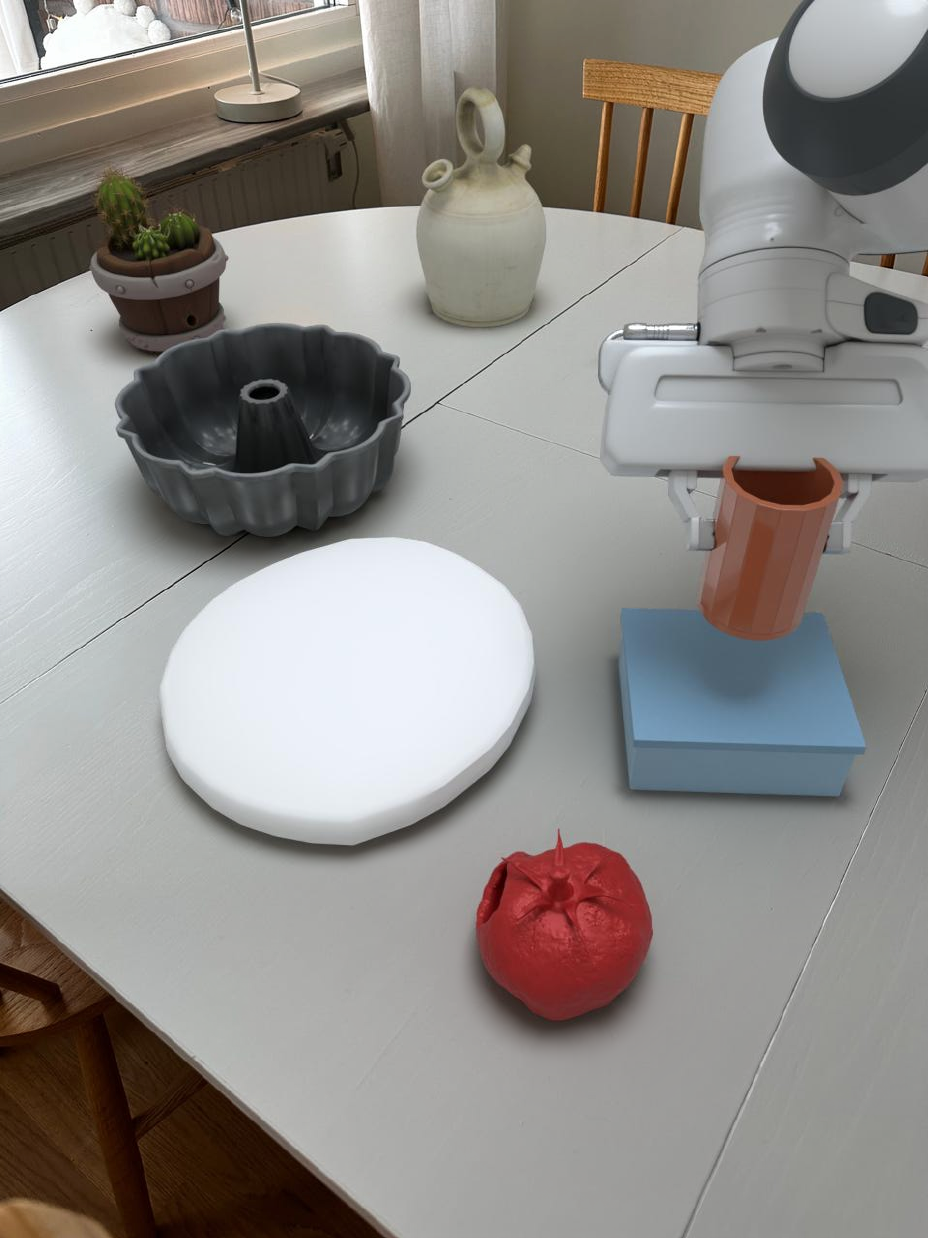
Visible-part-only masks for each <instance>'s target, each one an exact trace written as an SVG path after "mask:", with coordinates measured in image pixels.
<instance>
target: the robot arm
mask: <svg viewBox="0 0 928 1238" xmlns="http://www.w3.org/2000/svg"><path fill="white" fill-rule="evenodd" d="M709 105H710V106H709V109H708V111H707V116H706V121H705V126H704V133H703V141H702V149H701V151H702V152H701V162H700V174H699V175H700V176H699V177H700V178H699V201H698V202H699V204H698V208H699V210H698V211H699V213H698V215H699V220H700V223H701V228H702V231H703V234H704V251H703V256H702V259H701V262H700V265H699V269H698V275H697V296H696V297H697V299H696V300H697V301H696V302H697V303H696V323H693V322H686V323H684V322H683V323H681V322H680V323H679V322H672V323H671V322H670V323H663V324H662V323H661V324H647V323H645V322H631V323H625V324H624V325H623V328H622V329H617V330H615V331H613V332H611V333H610V334H609V335H607V336H606V337H605V339H603V341H602V342H601V344H600V347H599V350H598V359H597V361H598V362H597V378H598V382H599V385H600V387H601V389H602V390H603V392H605V393H606V394H607V399H606V404H605V409H604V415H603V420H602V421H603V422H602V429H601V435H600V436H601V437H600V448H599V460H600V463H601V465H602V466H603V467H604V469H605V470H606V471H607V472H608V474H609V475H611V476H612V477H629V478H667V497H668V498H669V499H670V502H671V503H672V505H673V507H674V508H675V510H676V512H677V514H678V515H679V517H680V519H681V521H682V522H683V523H685V525H684V526H685V527H684V528H685V529H684V530H685V531H684V535H685V536H684V548H685V551H686V552H706V551H711V550H713V549H714V545H715V537H714V536H713V533H714V531H715V519H711V518H703V517H702V516H701V514H700V511H699V510H698V508H697V506H696V505H695V502H694V501H693V499H692V497H691V495H690V494H691V493H693V492H694V491H695V490H696V489H697V487H698V479H721V474H722V469H723V466H724V464H725V462H726V460H727V458H728V457H729V456H740V459H739V460H738V462H737V463H736V465H735V470H737V471H769V472H813V471H815V470H816V465H815V463H814V461H813V458H824V459H826V460H827V461H828V462H829V463H830V464H831V465H833V466H834V467H835V468H836V469H837V470H838V471H839V474H840V476H841V479H842V481H843V488H842V491H841V495H840V498H839V499H841V500H842V499H843V500H844V499H845V500H844V502H843V503H842V504H841V505H842V506H841V507H840V508H839V510H838V512H837V514H836V516H834V518H833V521H832V524H831V527H830V530H829V534H828V537H827V540H826V543H825V547H824V550H823V553H822V555H835V556H836V555H837V556H838V555H841V556H842V555H846V554H849V553H850V551H851V549H852V534H853V533H852V532H853V531H852V530H853V529H852V528H853V526H852V525H853V523H854V522H855V521H856V519H857V518H858V517H859V515H860V513H861V511H862V510H863V508H864V507H865V505H866V503H867V502H868V500H869V499H870V498H871V496H872V495H873V494H872V493H873V483H874V482H875V483H881V482H882V483H917V482H921V481H923V480H926V479H928V349H927V348H926V347H924V345H925V344H927V342H928V303H926V302H924V301H921V300H918V299H915V298H912V297H909V296H906V295H903V294H899V293H896V292H894V291H890V290H887V289H884V288H883V287H879V286H876V285H874V284H871V283H868V282H867V281H863V280H861V279H858V278H857V277H854V276H852V275H850V273H851V272H850V271H851V261H852V259H853V258H854V257H855V256H857V255H859V256H895V255H896V256H897V255H907V254H918V253H927V252H928V0H802V1H801V2H800V4H799V5H798V6H797V7H796V9H794V11H793V12H792V14H791V16H790V17H789V19H788V21H787V22H786V24H785V26H784V27H783V29H782V31H781V33H780V34H779V36H778V37H775V38H772V39H770V40H769V39H768V40H767V41H765V42H762V43H760V44H758V45H756V46H754V47H753V48H751V49H749V50H748V51H747V52H745V53H743V54H742V55H741V56H740V57H739V58H737V59H736V60H735V61H733V63H732V64H731V65H730V66H729V67H728V68H727V69H726V71H725V72H724V74H723V75H722V77H721V79H720V81H719V82H718V84H717V86H716V89H715V92H714V94H713V96H712V99H711V102H710V104H709ZM621 337H622V339H618V338H621Z"/></svg>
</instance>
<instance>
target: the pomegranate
mask: <svg viewBox="0 0 928 1238" xmlns="http://www.w3.org/2000/svg"><path fill="white" fill-rule="evenodd" d="M560 832H561V831H560V828H558V829H557V841H556V845H555V847H554V848H551V849H547V850H545V851H543V852H541V853H538V854H535V855H532V854H529V853H527V852H525V851H521V850H519V851H515V852H513V853H511V854H510V855H509V856H507V857H502V856H500V859H501V860H502V861H501V862H499V864H498V865H497V866H496V867H494V869H493V870H492V872H491V873H490V877H489V879H488V881H487V883H486V885H485V886H484V889H483V893H482V897H481V900H480V901H479V904H478V906H477V908H476V909H477V910H476V921H475V934H476V940H477V943H478V944H477V945H478V950H479V954H480V957H481V959H482V962H483V964H484V965H483V966H484V967H485V969H486V971H487V972H488V974H489V975H490V976H491V977H492V978H493V980H494V981H495V983H497V985H498V986H500V987H502V988H504V989H505V990H506V991H507V992H508V993H510V994H511V995H512V996H513V997H515V998H516V999H518V1000H520V1001H522V1002H523V1004H524V1005H525V1006H526V1007H527V1008H528V1009H529V1010H530V1012H532V1013H533V1014H534V1015H538V1016H541V1017H543V1018H545V1019H546V1020H548V1021H565V1020H569V1019H572V1018H575V1017H578V1016H582V1015H583V1014H586V1013H589V1012H591V1011H593V1010H599V1009H601V1008H602V1007H605V1006H607V1005H609V1004H610V1003H611V1002H612V1001H614V999H615V998H616V997H617V996H618V995H619V994H621V993H622V992H623V991H625V990H626V989H627V988H628V987H629V986H630V985H631V983H632V982H633V980H634V979H635V977H637V975H638V973H639V972H640V969H641V967H642V966H643V963H644V962H645V959H646V957H647V954H648V952H649V949H650V946H651V943H652V940H653V935H654V929H653V915H652V913H651V908H650V905H649V903H648V901H647V900H648V899H647V896H646V893H645V890H644V888H643V885H642V882H641V881H640V878H639V877H638V875H637V874H636V873H635V871H634V870H633V869H632V868H631V866H630V864H629V862H628V861H627V858H625V856H623V855H622V854H621V853H620V852H617V851H616V850H612V849H610V848H608V847H607V846H603V845H602V844H599V843H596V842H586V841H584V842H577V843H574V844H572V845H569V846H567V847H564V845H563V840H562V838H561V833H560Z"/></svg>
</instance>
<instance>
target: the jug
mask: <svg viewBox="0 0 928 1238" xmlns="http://www.w3.org/2000/svg"><path fill="white" fill-rule="evenodd" d="M476 109H477V110H478V113H479V115H480V118H481V121H482V127H483V131H484V132H483V133H484V145H483V143H482V142H481V140H480V137H479V134H478V131H477V125H476ZM455 125H456V133H457V138H458V141H459V144H460V146H461V148H462V151H464V153H465V156H466V160H465V162H464V164H462V165H461V166H460V167H457V168H455V169H454V166H453V163H452V161H450V160H449V159H447V158H439V159H437V160H435V161H433V162H431V163H430V164H429V165H428V166H427V167H426V168H425V170H424V171H423V174H422V176H421V183H422V185H423V186H424V187H425V189H428V190H427V191H426V193H425V195H424V196H423V200H422V201H421V204H420V207H419V211H418V214H417V219H416V226H415V227H416V228H415V235H416V236H415V237H416V246H417V253H418V256H419V260H420V261H419V262H420V265H421V269H422V273H423V276H424V280H425V281H424V282H425V285H426V292H427V296H428V299H429V303H430V304H431V309H432V312H433V313H434V315H436V317H437V318H439V319H441V320H442V321H445V322H447V323H450V324H452V325H455V326H456V325H457V326H461V327H467V328H493V327H500V326H504V325H508V324H511V323H513V322H515V321H518V320H520V319H522V318H523V317H524V316H526V314H528V312H529V310H530V307H531V303H532V301H533V297H534V294H535V291H536V288H537V283H538V279H539V276H540V273H541V268H542V264H543V258H544V254H545V249H546V243H547V222H546V221H547V220H546V215H545V212H544V208H543V205H542V203H541V200H540V198H539V196H538V194H537V193H536V191H535V190H534V188H533V187H532V186H531V184H530V183H529V182H528V181H527V180H526V173H527V172H529V171H530V170H531V169H532V164H531V162H530V161H531V157H532V147H530V146H529V145H528V144H527V143H524V144H522V145H520V147H519V148H517V150H516V151H514V152H513V153H510V154H508V162H507V163H506V164H504V165H499V164H498V160H499V159H500V157H501V155H502V154H503V151H504V148H505V143H506V141H505V140H506V128H505V120H504V116H503V111H502V109H501V107H500V104H499V101H498V100H497V97H495V95H494V94H493V93H492V92H491V91H490V89H488V88H486V87H485V86H480V85H475V86H474V85H473V86H471V87H468V88H467V89H466V90H465V91H464V92H463V93H462V94H461V96H460V97H459V99H458V102H457V106H456V113H455Z"/></svg>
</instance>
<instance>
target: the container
mask: <svg viewBox="0 0 928 1238" xmlns="http://www.w3.org/2000/svg"><path fill="white" fill-rule="evenodd" d="M619 615H620V627H621V642H620V651H619V658H618V674H619V685H620V695H621V706H622V707H621V708H622V718H623V728H624V729H623V730H624V739H625V740H624V741H625V750H626V764H627V772H628V773H627V775H628V784H629V790H632V791H659V792H660V791H661V792H663V791H664V792H666V791H667V792H693V793H722V794H748V795H749V794H753V795H754V794H755V795H781V796H782V795H783V796H808V797H809V796H811V797H812V796H814V797H840V796H841V793H842V790H843V787H844V785H845V783H846V780H847V778H848V775H849V773H850V770H851V769H852V765H853V763H854V761H855V758H856V756H857V755H864V754H865V752H866V749H867V743H866V742H865V741H866V740H865V738H864V735H863V732H862V729H861V726H860V723H859V720H858V716H857V713H856V710H855V707H854V704H853V700H852V697H851V695H850V690H849V688H848V685H847V682H846V679H845V677H844V673H843V670H842V667H841V664H840V661H839V658H838V654H837V650H836V648H835V646H834V642H833V639H832V636H831V632H830V630H829V629H830V628H829V627H828V623H827V621H826V617H825V614H824V613H823V612H806V611H804V615H803V618H802V621H801V623H800V625H799V626H798V627H797V628H796V629H795V630H794V631H793V632H792V633H790V634H789V635H787V636H784V637H782V638H779V639H775V640H769V641H751V640H745V639H741V638H737V637H734V636H731V635H728V634H726V633H724V632H722V631H720V630H718V629H717V628H715V627H714V626H713V625H711V624H710V623H709V622H708V621H707V620H706V619H705V618H704V616H703V615H702V613H701V611H700V609H681V608H680V609H679V608H678V609H676V608H640V607H639V608H638V607H637V608H635V607H632V608H631V607H621V608H620V614H619Z"/></svg>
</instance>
